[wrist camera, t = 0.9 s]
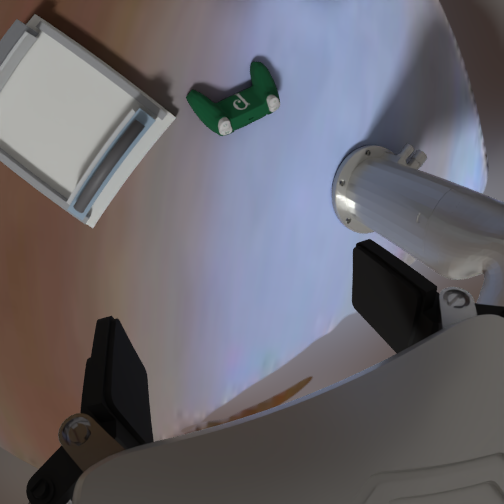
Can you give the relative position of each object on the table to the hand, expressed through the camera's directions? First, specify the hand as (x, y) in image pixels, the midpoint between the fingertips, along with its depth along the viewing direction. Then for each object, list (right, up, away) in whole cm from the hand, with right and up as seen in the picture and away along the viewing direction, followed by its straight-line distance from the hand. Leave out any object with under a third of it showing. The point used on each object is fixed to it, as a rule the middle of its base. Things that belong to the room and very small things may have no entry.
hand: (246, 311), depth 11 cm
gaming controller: (-2, +19, +20) cm, 28 cm away
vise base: (-20, +17, +14) cm, 30 cm away
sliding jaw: (-14, +12, +17) cm, 25 cm away
